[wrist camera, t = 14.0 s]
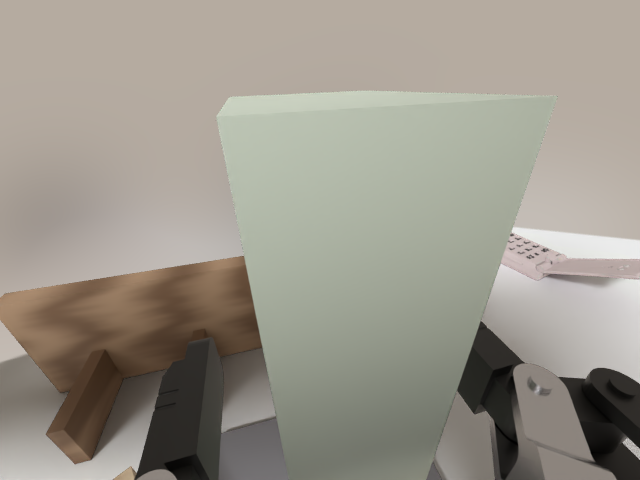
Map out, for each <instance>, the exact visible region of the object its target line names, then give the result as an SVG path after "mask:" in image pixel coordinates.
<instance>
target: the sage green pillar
mask: <svg viewBox="0 0 640 480" xmlns="http://www.w3.org/2000/svg"><path fill="white" fill-rule="evenodd" d="M556 100H557V96H533V95H499V94H464V93H427V92H392V91H350V92H349V91H348V92H327V93H305V94H284V95H263V96H241V97H229V99H228V100H227V102H226V103H225V105H224V106H223V108H222V109H221V110H220V112H219V113H218V115H217V116H216V118H217V123H218V128H219V133H220V138H221V143H222V148H223V153H224V158H225V163H226V168H227V173H228V178H229V182H230V188H231V193H232V198H233V203H234V208H235V213H236V218H237V223H238V228H239V233H240V238H241V243H242V248H243V252H244V258H245V263H246V268H247V273H248V278H249V283H250V288H251V293H252V298H253V303H254V308H255V313H256V318H257V323H258V328H259V333H260V338H261V343H262V348H263V353H264V358H265V363H266V368H267V373H268V378H269V383H270V388H271V393H272V398H273V403H274V408H275V413H276V418H277V423H278V428H279V433H280V438H281V443H282V448H283V453H284V458H285V463H286V468H287V473H288V478H289V480H426V479H427V476H428V473H429V470H430V467H431V464H432V461H433V458H434V456H435V453H436V450H437V447H438V444H439V441H440V438H441V435H442V432H443V429H444V426H445V423H446V421H447V418H448V415H449V412H450V409H451V406H452V403H453V400H454V397H455V394H456V391H457V389H458V386H459V383H460V380H461V377H462V374H463V371H464V368H465V365H466V362H467V359H468V356H469V354H470V351H471V348H472V345H473V342H474V339H475V336H476V333H477V330H478V327H479V324H480V321H481V319H482V316H483V313H484V310H485V307H486V304H487V301H488V298H489V295H490V292H491V289H492V286H493V284H494V281H495V278H496V275H497V272H498V269H499V266H500V263H501V260H502V257H503V254H504V251H505V249H506V246H507V243H508V240H509V237H510V234H511V231H512V228H513V225H514V222H515V219H516V216H517V213H518V210H519V208H520V205H521V202H522V199H523V196H524V193H525V190H526V187H527V184H528V181H529V178H530V176H531V173H532V170H533V167H534V164H535V161H536V158H537V155H538V152H539V149H540V146H541V144H542V141H543V138H544V135H545V132H546V129H547V126H548V123H549V120H550V117H551V114H552V111H553V109H554V106H555V102H556Z"/></svg>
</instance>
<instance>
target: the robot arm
mask: <svg viewBox="0 0 640 480" xmlns="http://www.w3.org/2000/svg"><path fill="white" fill-rule="evenodd" d="M223 384H224V378H223V368H222V364H221V361H220V358H219V355H218V351H217V348H216V345H215V342H214V339H213V338H212V337H210V338H205V339H200V340H196V341H191V342H189V343H188V345H187V350H186V355H185V359H183V360H179V361H174V362H173V363H172V364H171V366H170V367H169V369H168V370H167V372H166V373H165V375H164V376H163V378H162V382H161V386H160V389H159V393H158V394H159V396H158V397H157V401H156V405H155V411H154V412H153V416H152V420H151V423H150V427H149V431H148V435H147V439H146V442H145V446H144V450H143V454H142V457H141V461H140V465H139V468H138V471H137V474H136V476H135V479H134V480H218V478H219V459H220V440H221V422H222V403H223ZM457 391H458V392H459V394H460V395H461V396H462V398H463V399H464V401H465V402H466V403H467V405H468V406H469V408H470V409H471V410H472V412H473V413H474V414H477V413H480V412H483V411H487V412H488V414H489V415H490V416H491V418H490V432H491V442H492V452H493V463H494V473H495V480H640V460H639V459H638V458H637V457H636V456H635V455H634V454H633V453H632V452H631V451H630V450H629V449H628V448H627V447H626V446H625V445H624V444H623V443H622V442H623V441H624V440H625V439H626V438H627V437H628V438H629V439H630V440H631V441H632V442H633V443H634V444H635V445H636V446H638V447H639V448H640V384H639V383H637V382H636V381H635V380H633V379H631V378H630V377H628V376H626V375H624V374H622V373H620V372H617V371H614V370H611V369H606V368H596V369H593V370H592V371H591V372H590V374H589V375H588V376H587V378H586V379H580V378H565V377H557V376H556V375H554V374H553V373H552V372H550V371H548V370H547V369H545V368H543V367H540V366H537V365H534V364H528V363H524V362H523V361H522V360H521V359H520V358H519V357H518V356H517V355H516V354H515V353H514V352H512V351H511V350H510V349H509V348H508V347H507V346H506V345H505V344H504V343H503V342H502V341H501V340H500V339H499V338H498V337H497V336H496V335H495V334H494V333H493V332H492V331H491V330H490V329H487V327H486V325H485V324H484V323H483V322H482V321H480V324H479V327H478V330H477V333H476V336H475V339H474V342H473V345H472V348H471V351H470V354H469V356H468V359H467V362H466V365H465V368H464V371H463V374H462V377H461V380H460V383H459V386H458V389H457Z"/></svg>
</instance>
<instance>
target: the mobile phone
mask: <svg viewBox="0 0 640 480" xmlns="http://www.w3.org/2000/svg"><path fill="white" fill-rule="evenodd" d="M501 263H502V264H504V265H506V266H508V267H510V268H512V269H514V270H516V271H518V272H520V273H522V274H524V275H526V276H528V277H530V278H532V279H534V280H537V281H538V280H540V279H542V278H544V277H546V276H547V275H549V274H566V275H582V276H597V277H612V278H624V279H640V259H568V258H566V256H565V255H564V254H560V255H559V253H558V252H555V251H553V250H551V249H548V248H546V247H544V246H542V245H539V244H537V243H535V242H532V241H530V240H528V239H525V238H523V237H521V236H518V235H516V234H514V233H512V232H511V234H510V237H509V240H508V243H507V246H506V249H505V251H504V254H503V257H502V260H501Z"/></svg>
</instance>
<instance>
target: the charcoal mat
mask: <svg viewBox="0 0 640 480" xmlns="http://www.w3.org/2000/svg"><path fill="white" fill-rule="evenodd" d="M218 480H289V478H288V473H287V468H286V463H285V458H284V453H283V448H282V443H281V438H280V433H279V428H278V423H277V418H275V419H271V420H267V421H264V422H260V423H257V424H253V425H249V426H246V427H242V428H239V429H235V430H231V431H228V432H224V433H221V440H220V459H219V478H218ZM426 480H442V479H441V477H440V475H439V473H438V471H437V469H436V467H435V465H434V464H433V462H432V464H431V467H430V470H429V473H428V476H427V479H426Z"/></svg>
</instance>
